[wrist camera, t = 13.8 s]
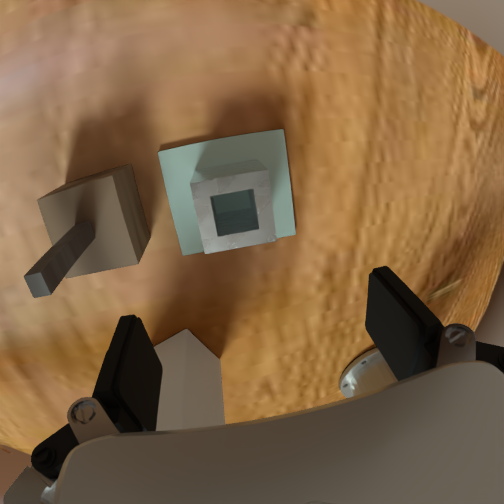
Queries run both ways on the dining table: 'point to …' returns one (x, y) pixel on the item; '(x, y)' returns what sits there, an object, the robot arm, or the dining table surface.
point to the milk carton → (189, 384)
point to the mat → (220, 153)
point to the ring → (238, 221)
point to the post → (90, 228)
